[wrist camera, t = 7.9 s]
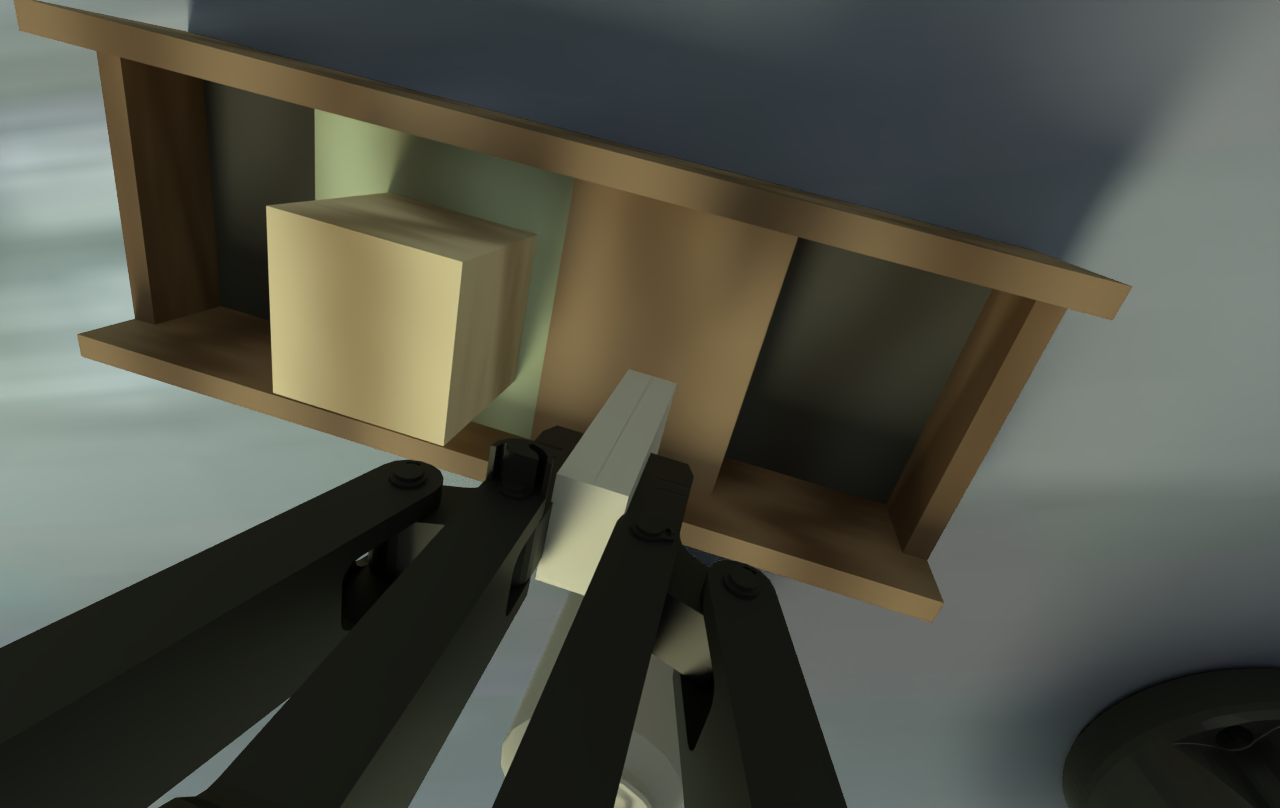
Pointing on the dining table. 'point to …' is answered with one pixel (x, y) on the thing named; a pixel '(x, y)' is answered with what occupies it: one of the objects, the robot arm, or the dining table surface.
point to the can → (654, 748)
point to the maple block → (395, 310)
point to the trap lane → (594, 297)
